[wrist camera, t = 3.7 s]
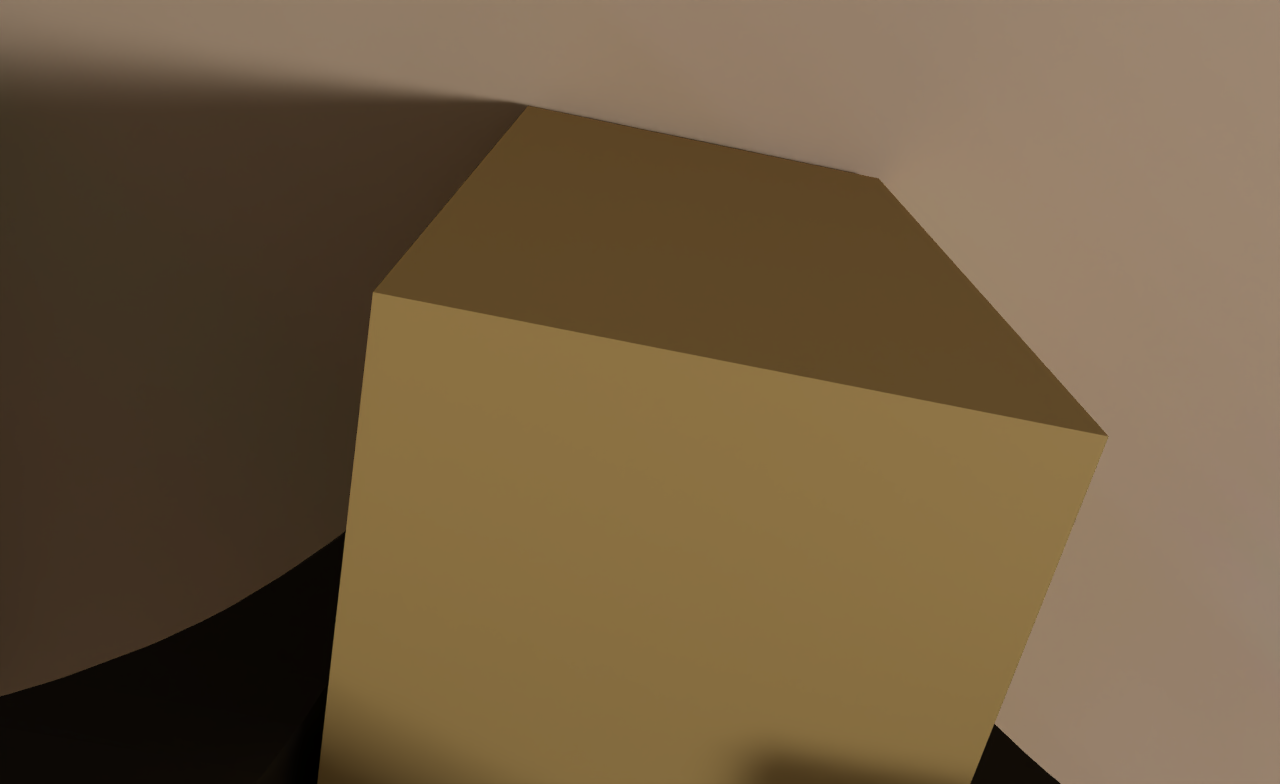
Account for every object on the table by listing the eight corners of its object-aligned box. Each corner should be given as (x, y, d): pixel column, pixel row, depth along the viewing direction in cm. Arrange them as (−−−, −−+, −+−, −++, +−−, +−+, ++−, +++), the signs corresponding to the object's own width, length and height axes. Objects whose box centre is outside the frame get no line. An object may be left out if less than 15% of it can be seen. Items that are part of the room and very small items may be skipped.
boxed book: (689, 847, 16) (703, 1451, 10) (418, 800, 16) (249, 1387, 10) (879, 177, 12) (1108, 438, 6) (527, 105, 12) (373, 290, 6)
